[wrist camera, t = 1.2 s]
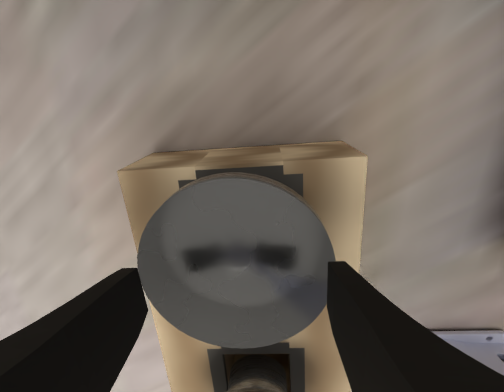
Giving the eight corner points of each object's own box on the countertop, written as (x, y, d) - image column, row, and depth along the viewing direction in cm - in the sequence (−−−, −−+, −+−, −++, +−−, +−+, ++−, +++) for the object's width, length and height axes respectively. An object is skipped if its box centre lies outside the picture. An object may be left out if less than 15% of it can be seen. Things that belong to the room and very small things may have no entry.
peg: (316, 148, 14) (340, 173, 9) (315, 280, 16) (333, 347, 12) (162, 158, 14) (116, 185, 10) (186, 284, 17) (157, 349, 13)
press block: (341, 140, 18) (367, 156, 14) (333, 351, 25) (349, 411, 20) (153, 152, 19) (117, 171, 15) (192, 353, 26) (176, 410, 21)
